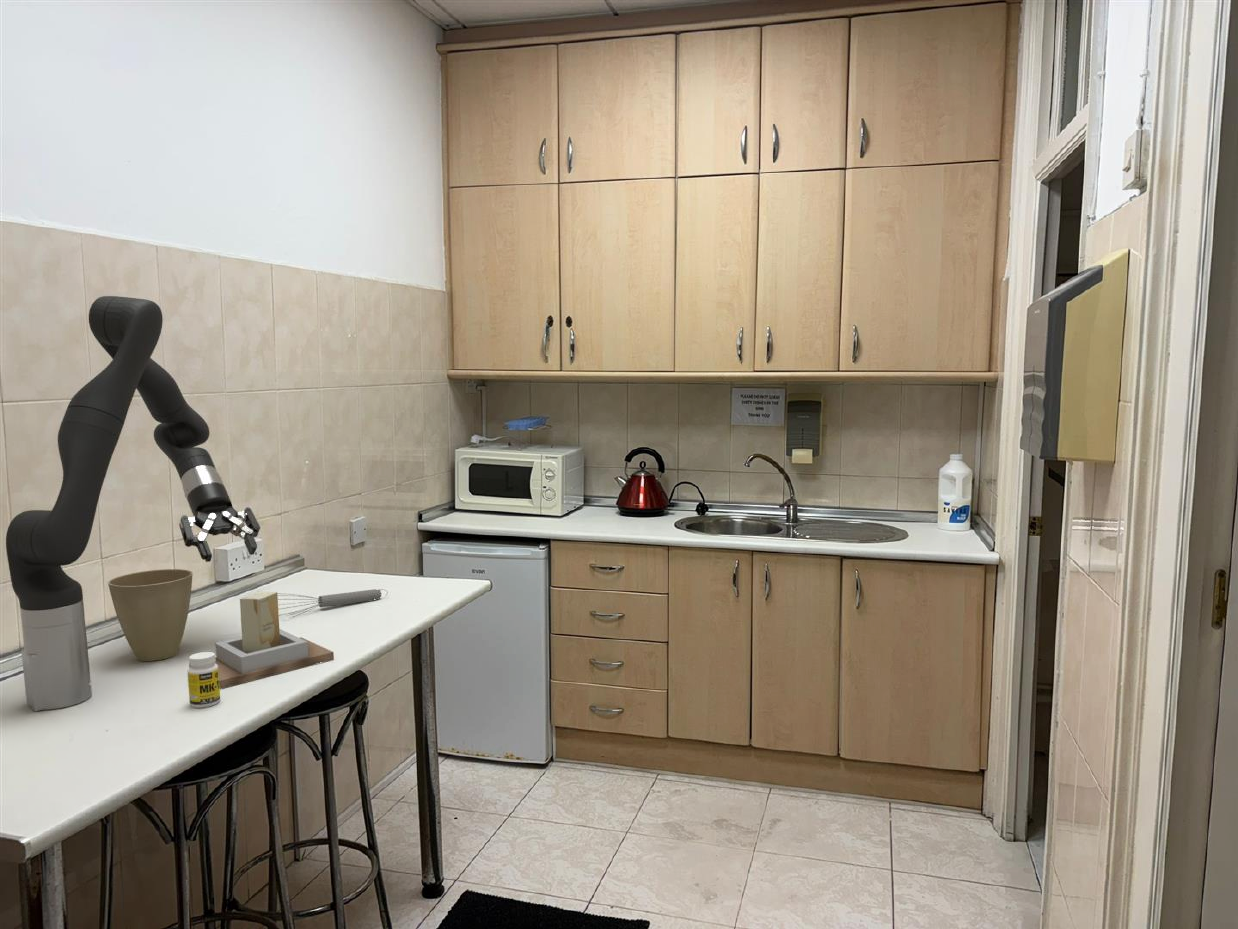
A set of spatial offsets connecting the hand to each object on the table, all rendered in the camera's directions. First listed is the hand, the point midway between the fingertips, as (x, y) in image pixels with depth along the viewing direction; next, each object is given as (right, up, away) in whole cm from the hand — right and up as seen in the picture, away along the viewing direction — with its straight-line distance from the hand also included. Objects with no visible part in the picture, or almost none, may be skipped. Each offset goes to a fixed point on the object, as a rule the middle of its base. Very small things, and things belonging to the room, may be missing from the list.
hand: (231, 555), depth 181 cm
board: (+8, -20, -6) cm, 23 cm away
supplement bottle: (+6, -23, -25) cm, 34 cm away
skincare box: (+8, -19, -6) cm, 22 cm away
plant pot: (-15, -20, +2) cm, 25 cm away
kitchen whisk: (+6, -16, +32) cm, 37 cm away
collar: (+8, -19, -6) cm, 22 cm away
